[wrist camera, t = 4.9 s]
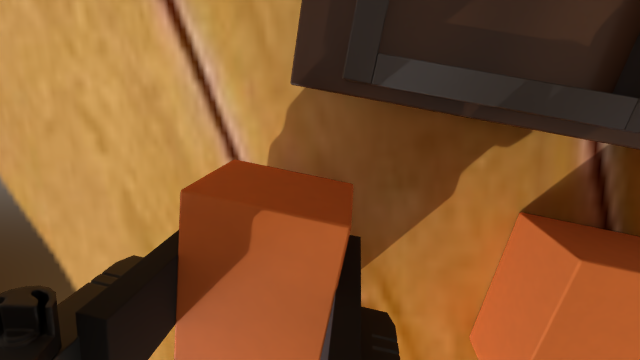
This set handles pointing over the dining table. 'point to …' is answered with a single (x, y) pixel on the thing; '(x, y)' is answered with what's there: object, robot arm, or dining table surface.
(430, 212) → the dining table surface
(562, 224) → the pad
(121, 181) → the dining table surface
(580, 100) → the dark grey divided tray
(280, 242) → the pad
